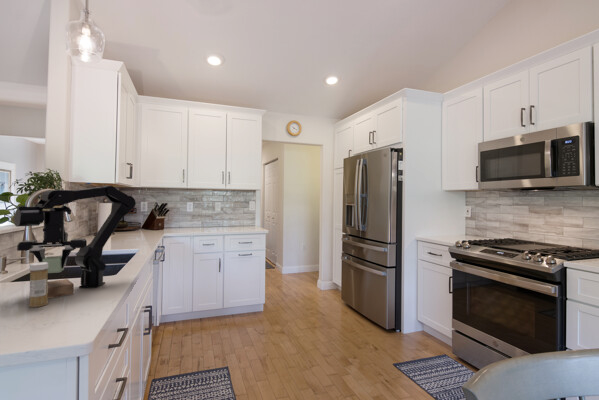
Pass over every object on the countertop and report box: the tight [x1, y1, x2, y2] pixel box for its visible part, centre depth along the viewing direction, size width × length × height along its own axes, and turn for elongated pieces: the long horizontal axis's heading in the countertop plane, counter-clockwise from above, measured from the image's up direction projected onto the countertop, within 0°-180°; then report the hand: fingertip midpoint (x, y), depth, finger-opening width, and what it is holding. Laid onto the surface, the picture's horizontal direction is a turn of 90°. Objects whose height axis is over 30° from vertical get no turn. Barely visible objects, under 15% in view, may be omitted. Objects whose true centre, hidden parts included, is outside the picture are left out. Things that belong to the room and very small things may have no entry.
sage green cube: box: [42, 255, 65, 274], centre depth 110 cm, size 5×5×5 cm
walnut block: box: [47, 278, 75, 300], centre depth 110 cm, size 10×10×4 cm
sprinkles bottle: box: [29, 261, 49, 308], centre depth 98 cm, size 5×5×14 cm
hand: (53, 268), depth 110 cm, fingers closed on sage green cube, 5 cm apart
